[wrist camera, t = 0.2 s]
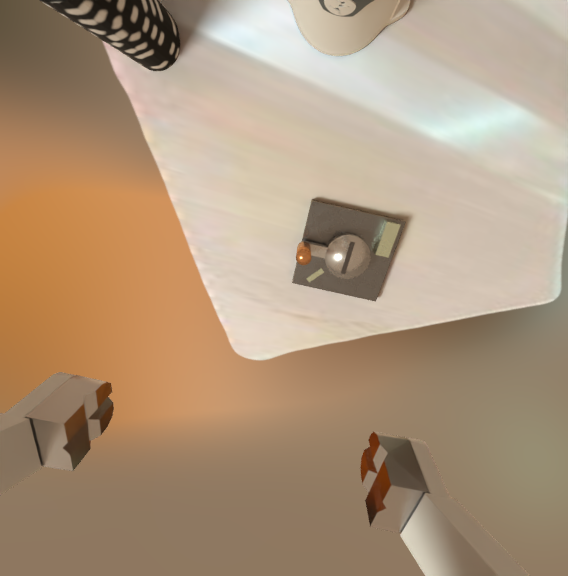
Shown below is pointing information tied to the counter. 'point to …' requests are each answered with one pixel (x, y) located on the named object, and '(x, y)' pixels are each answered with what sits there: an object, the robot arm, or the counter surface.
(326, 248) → the copper silver knob
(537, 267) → the counter surface
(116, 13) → the spotted tube
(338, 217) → the plate
